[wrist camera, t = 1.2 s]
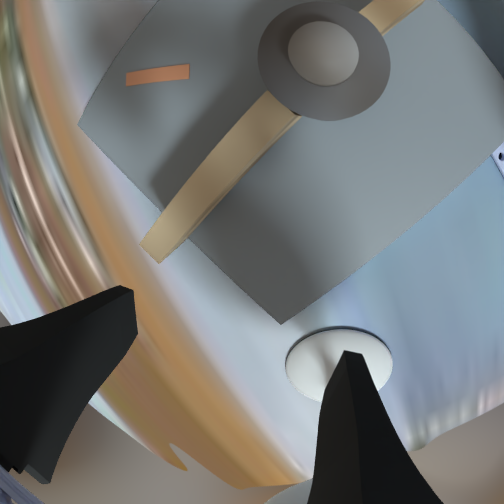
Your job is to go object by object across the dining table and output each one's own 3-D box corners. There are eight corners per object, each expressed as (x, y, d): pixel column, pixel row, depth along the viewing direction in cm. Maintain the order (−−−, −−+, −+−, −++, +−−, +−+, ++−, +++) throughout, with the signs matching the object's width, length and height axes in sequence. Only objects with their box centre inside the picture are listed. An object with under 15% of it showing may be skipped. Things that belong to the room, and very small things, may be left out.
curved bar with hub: (370, -26, 9) (380, -73, 5) (441, 38, 10) (480, 12, 6) (149, 204, 18) (98, 233, 14) (206, 259, 19) (169, 303, 14)
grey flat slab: (514, 116, 11) (527, 117, 10) (274, 318, 22) (270, 332, 20) (279, -90, 9) (275, -102, 8) (85, 133, 19) (71, 136, 18)
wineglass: (412, 366, 20) (413, 628, 2) (336, 412, 24) (293, 624, 6) (341, 307, 20) (280, 659, 1) (264, 367, 24) (170, 609, 5)
